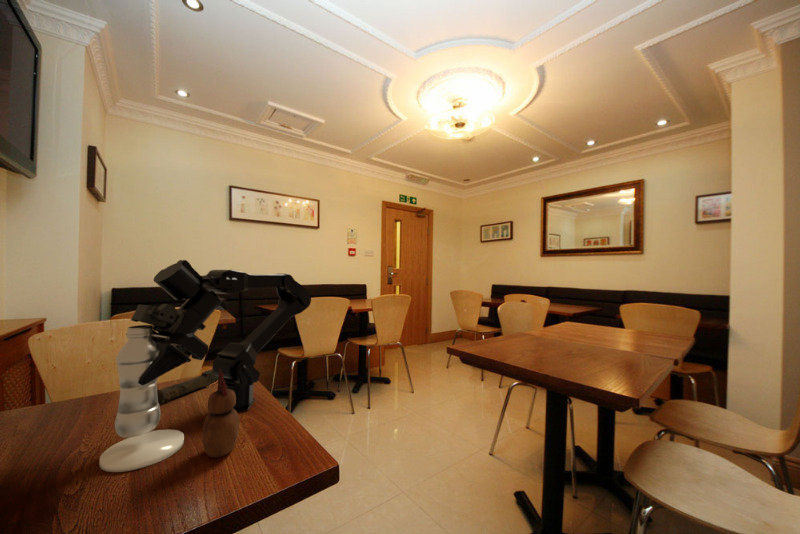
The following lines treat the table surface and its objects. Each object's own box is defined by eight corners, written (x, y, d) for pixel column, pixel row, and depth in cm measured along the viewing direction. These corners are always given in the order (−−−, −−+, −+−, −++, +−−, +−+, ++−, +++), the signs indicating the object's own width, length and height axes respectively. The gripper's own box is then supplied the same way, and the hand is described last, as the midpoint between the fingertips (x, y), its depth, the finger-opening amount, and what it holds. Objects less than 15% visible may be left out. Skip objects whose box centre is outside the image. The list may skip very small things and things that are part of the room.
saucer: (195, 432, 64) (196, 427, 64) (160, 468, 52) (160, 462, 52) (131, 436, 62) (131, 431, 62) (79, 475, 50) (79, 469, 50)
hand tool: (160, 407, 76) (161, 388, 76) (150, 404, 77) (151, 386, 77) (227, 382, 94) (228, 367, 94) (218, 380, 95) (219, 366, 95)
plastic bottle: (169, 424, 60) (170, 323, 61) (140, 443, 54) (142, 330, 54) (136, 424, 60) (138, 323, 61) (103, 443, 54) (105, 329, 54)
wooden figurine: (206, 445, 59) (208, 367, 59) (239, 439, 61) (241, 364, 62) (198, 465, 53) (201, 378, 53) (236, 458, 55) (238, 374, 55)
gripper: (138, 287, 65) (64, 352, 55) (193, 290, 57) (119, 366, 47) (177, 319, 72) (118, 381, 62) (231, 325, 64) (173, 397, 54)
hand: (130, 381), depth 56 cm, fingers closed on plastic bottle, 6 cm apart
